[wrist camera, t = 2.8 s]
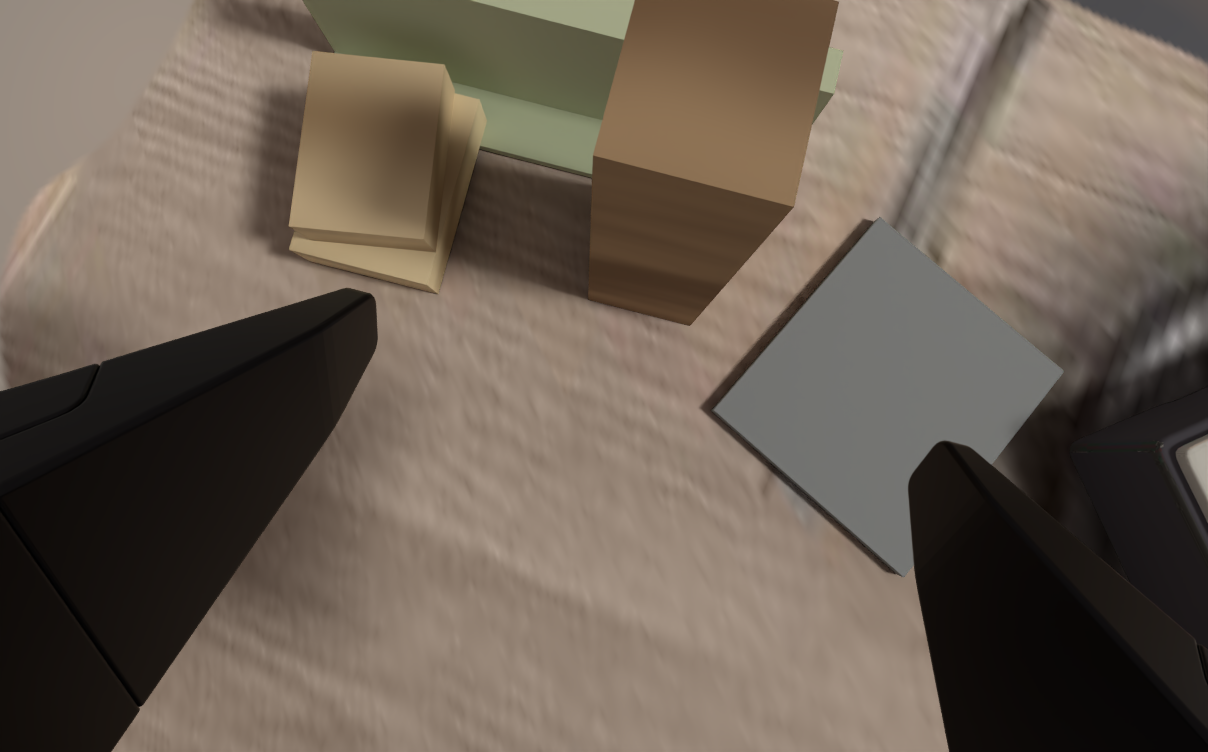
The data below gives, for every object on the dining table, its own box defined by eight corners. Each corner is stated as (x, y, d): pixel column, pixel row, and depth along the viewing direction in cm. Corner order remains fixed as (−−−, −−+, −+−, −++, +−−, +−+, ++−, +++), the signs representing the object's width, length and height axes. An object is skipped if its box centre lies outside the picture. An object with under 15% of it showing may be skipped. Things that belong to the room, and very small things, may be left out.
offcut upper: (436, 252, 21) (423, 239, 19) (310, 240, 20) (288, 226, 19) (455, 89, 21) (444, 64, 19) (332, 77, 21) (312, 51, 19)
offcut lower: (438, 293, 22) (427, 285, 20) (309, 261, 22) (288, 249, 20) (487, 120, 22) (479, 99, 21) (361, 88, 22) (344, 64, 21)
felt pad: (898, 575, 21) (904, 577, 21) (711, 410, 22) (713, 409, 21) (1055, 372, 22) (1063, 371, 22) (874, 220, 23) (879, 216, 22)
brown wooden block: (690, 325, 22) (793, 206, 11) (588, 299, 22) (593, 155, 11) (715, 216, 23) (838, 1, 12) (616, 190, 23) (647, -48, 12)
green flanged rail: (768, 222, 23) (819, 160, 18) (320, 108, 23) (246, 12, 18) (794, 107, 23) (850, 15, 18) (358, -5, 23) (297, -127, 18)
